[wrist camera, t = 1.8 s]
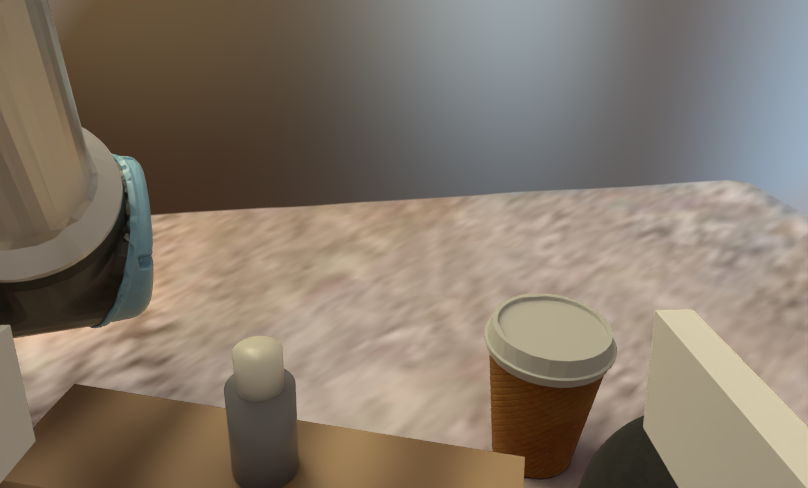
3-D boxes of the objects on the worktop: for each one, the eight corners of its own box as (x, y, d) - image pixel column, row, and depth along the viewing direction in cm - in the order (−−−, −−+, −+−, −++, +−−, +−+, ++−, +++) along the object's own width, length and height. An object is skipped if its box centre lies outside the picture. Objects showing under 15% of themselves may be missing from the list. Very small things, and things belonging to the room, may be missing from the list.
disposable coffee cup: (524, 514, 50) (546, 382, 44) (448, 432, 57) (459, 309, 52) (618, 466, 55) (649, 340, 49) (537, 395, 62) (556, 278, 56)
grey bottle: (221, 485, 33) (208, 367, 30) (246, 438, 36) (237, 325, 33) (286, 497, 33) (279, 378, 29) (307, 448, 35) (303, 335, 32)
